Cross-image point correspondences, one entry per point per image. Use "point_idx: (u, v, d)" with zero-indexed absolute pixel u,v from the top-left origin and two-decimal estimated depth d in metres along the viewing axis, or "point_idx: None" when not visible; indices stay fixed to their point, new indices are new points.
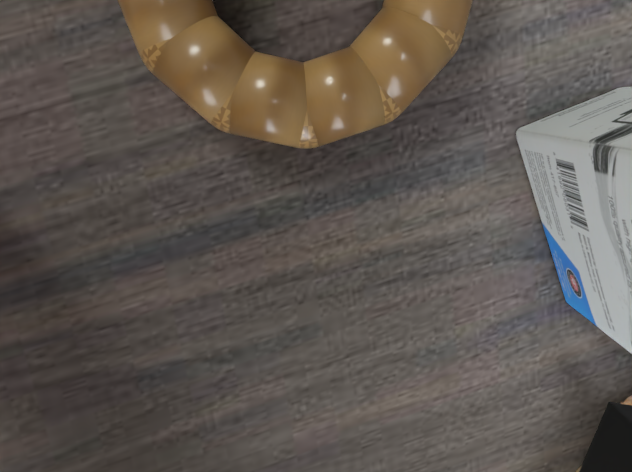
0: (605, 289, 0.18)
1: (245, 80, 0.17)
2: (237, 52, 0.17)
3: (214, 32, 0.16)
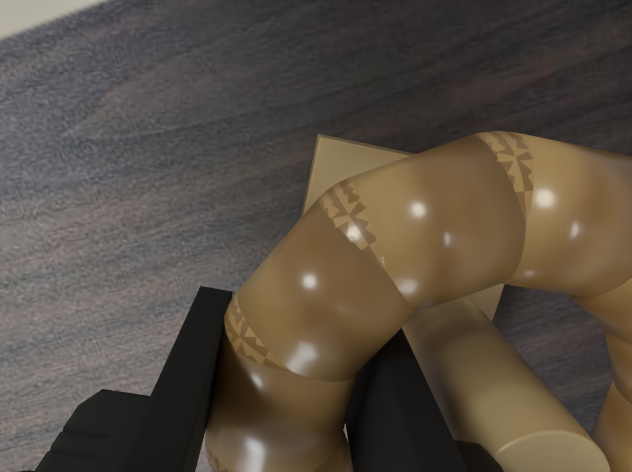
0: None
1: None
2: None
3: None
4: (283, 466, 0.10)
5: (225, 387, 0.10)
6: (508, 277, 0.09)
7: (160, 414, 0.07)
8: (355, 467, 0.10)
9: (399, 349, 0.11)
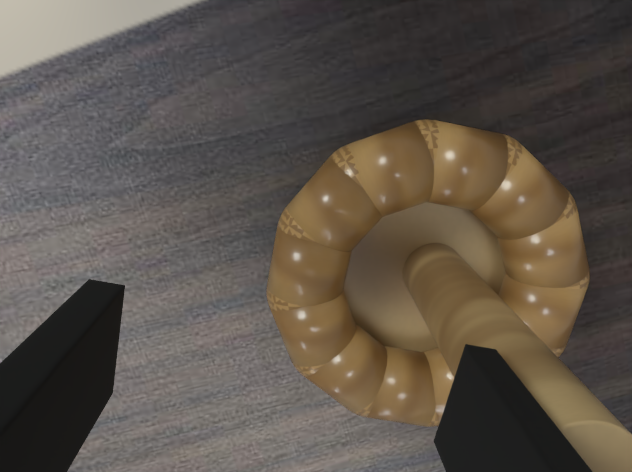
0: None
1: (384, 390, 0.20)
2: (376, 365, 0.20)
3: (358, 352, 0.20)
4: (310, 296, 0.18)
5: (280, 254, 0.19)
6: (429, 195, 0.18)
7: None
8: None
9: (510, 384, 0.10)
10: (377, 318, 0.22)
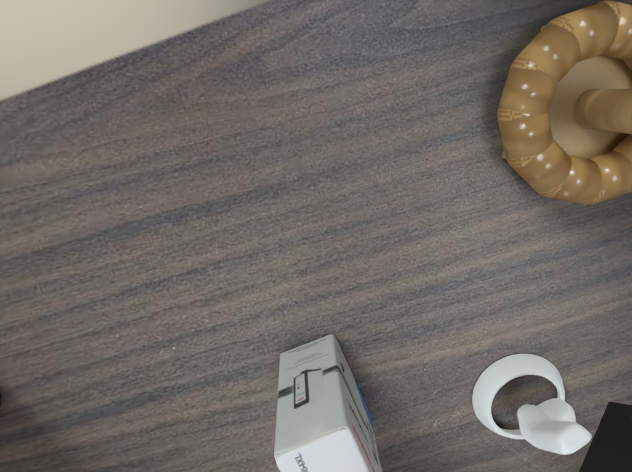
0: None
1: (572, 173, 0.32)
2: (567, 158, 0.32)
3: (557, 149, 0.32)
4: (537, 107, 0.31)
5: (517, 83, 0.31)
6: (610, 45, 0.30)
7: None
8: None
9: None
10: None
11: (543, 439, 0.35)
